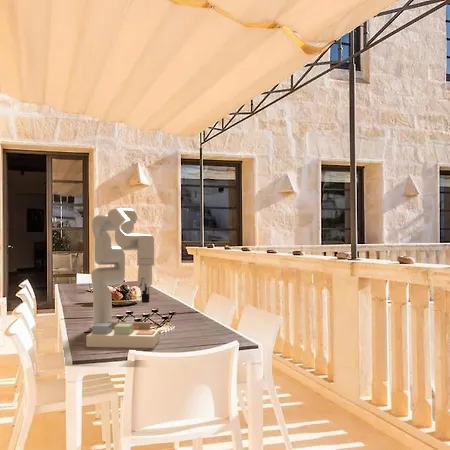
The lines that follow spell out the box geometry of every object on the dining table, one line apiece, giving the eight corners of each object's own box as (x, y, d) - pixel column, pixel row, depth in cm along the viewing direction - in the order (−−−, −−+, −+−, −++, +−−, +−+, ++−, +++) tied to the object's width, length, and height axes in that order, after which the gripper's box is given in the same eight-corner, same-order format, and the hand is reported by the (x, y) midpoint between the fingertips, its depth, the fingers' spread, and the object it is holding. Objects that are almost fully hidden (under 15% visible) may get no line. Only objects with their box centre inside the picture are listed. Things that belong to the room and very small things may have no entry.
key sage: (114, 335, 228) (114, 326, 228) (118, 332, 235) (118, 323, 235) (129, 335, 227) (129, 326, 227) (133, 332, 234) (133, 323, 234)
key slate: (92, 334, 228) (92, 326, 228) (97, 331, 235) (97, 323, 235) (107, 335, 228) (107, 326, 228) (112, 331, 235) (112, 323, 235)
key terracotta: (136, 342, 227) (136, 333, 227) (139, 339, 234) (139, 330, 234) (151, 342, 227) (151, 333, 227) (154, 339, 234) (154, 330, 234)
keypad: (86, 346, 225) (86, 328, 225) (98, 338, 241) (98, 321, 241) (153, 347, 223) (153, 329, 223) (160, 339, 240) (160, 322, 240)
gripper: (141, 260, 238) (141, 299, 238) (133, 263, 223) (133, 305, 223) (157, 260, 238) (156, 300, 238) (150, 263, 223) (150, 305, 223)
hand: (145, 302), depth 230 cm, fingers closed
